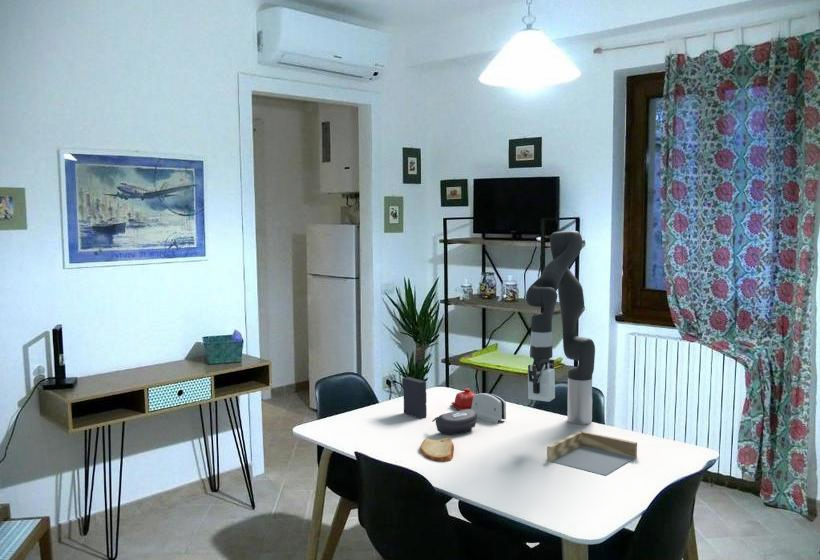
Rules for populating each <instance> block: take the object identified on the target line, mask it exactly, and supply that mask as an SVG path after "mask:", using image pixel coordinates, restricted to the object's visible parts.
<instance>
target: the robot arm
mask: <svg viewBox="0 0 820 560" xmlns="http://www.w3.org/2000/svg"><path fill="white" fill-rule="evenodd" d="M582 237H583V236H582V234H581V233H580V232H579V231H577V230H566V231H565V230H563V231H554V232H552V233H551V235H550V238H549V241H550V242H549V245H550V251H551V256H552V257H551V258H552V260H551V261H550V262H549V263H548V264H547V265H546V266H544V268H543V270H542V272H541V274H540V277H538V278H537V280H535V281H534V282H533V283H532V284H531V285H530V286H529V287H528V288H527V291H526V294H525V300H526V303H527V304H528V306H530V307H532V308H534V307H535V308H544V310H543V312H540V313H534V314H533V315H532V316H531V319H530V321H531V322H530V325H531V326H530V327H531V329H530V330H531V331H530V358H532V359H533V362H532V364H528V365H527V368H528V369H527V374H528V373H529V381H530V382H533V393H535V394H539V393H540V383H539V382H540V378H541V377H542V371H544V370H545V369H555V359H552V358H553V346H554V345H553V343H554V341H553V339H554V337H553V329H552V328H553V326H552V324H553V316H554V312H555V308H556V304H557V301H559V307H560V313H561V323H562V345H563V346H562V347H563V353H564V355H565V357H566V358H567V359H569V360H571V361H572V360H573V361H578V362H577V363H578V365H577V367H575V368H571V369H569V370H568V372H567V413H566V414H567V419H566V420H567V422H569V423H570V424H575V425H590V424H591V423H592V422H593V421H592V420H593V374H594V370H595V358H596V357H595V355H596V346H595V342H594V340H593V339H591V338H588V337H582V336H581V337H580V336H578V332H577V331H578V330H577V324H578V320H579V318H580V316H581V313H582V312H583V310H584V306H585V296H584V290H583V286H582V284H581V282H579V280H578V278H577V276H575V275H574V274H573V272H572V271H571V270H570V268H569V267H570V266H571V265H572V263H573V262H574V261H575V260H576V259H577V257H578V256H579V254H580V253H581V251H582V247H583V238H582ZM556 290H557V291H556ZM536 371H538V372H540V373H539V374H536ZM532 376H533V378H532ZM537 376H538V378H537Z"/></svg>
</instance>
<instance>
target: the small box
mask: <svg viewBox="0 0 820 560" xmlns="http://www.w3.org/2000/svg"><path fill="white" fill-rule="evenodd" d="M539 373H540V372H538V371H536V374H539ZM555 376H556V375H555V368H554V369H545V370H544V371H542V377H541V378H540V382H539V383H540V393H539V394H535V393H533V382H530V381H529V373H528V372H527V394H528V395H527V398H528V400H532V401H533V400H534V401H539V402H540V401H541V402H551V401H552V400H554V399H556V381H555V379H556V377H555ZM532 378H533V376H532ZM537 378H538V376H537Z"/></svg>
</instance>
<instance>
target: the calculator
mask: <svg viewBox="0 0 820 560" xmlns="http://www.w3.org/2000/svg"><path fill="white" fill-rule="evenodd" d="M401 382H402V383H401V385H402V389H403V415H408V416H411V417H413V418H416V419H420V420H422V419H423V420H424V419H426V418H427V409H428V408H427V382H426V380H422V379H417V378H414V377H412V376H408V377H407V376H406V377H403V378H402V381H401Z"/></svg>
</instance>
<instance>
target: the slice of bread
mask: <svg viewBox="0 0 820 560" xmlns="http://www.w3.org/2000/svg"><path fill="white" fill-rule="evenodd" d="M419 447H420V448H419V449H420V453H421V454H422V456H424V458H426V459H428V460H431V461H433V462H440V463H446V462H451V461H452V460H453V458H454V451H455V445H454V442H453V441H452V438H451V437H445V438H440V439H432V438H425V439H424V440H422V442H421V444H420V446H419Z"/></svg>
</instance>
